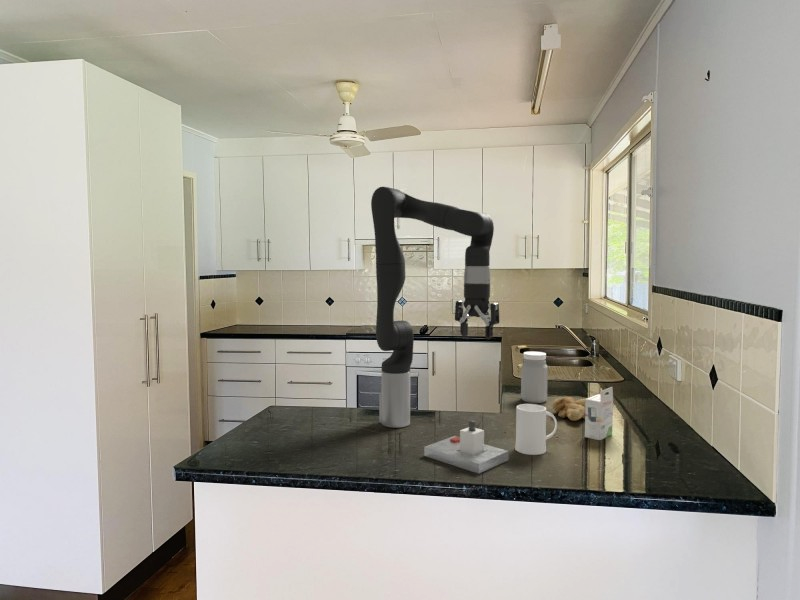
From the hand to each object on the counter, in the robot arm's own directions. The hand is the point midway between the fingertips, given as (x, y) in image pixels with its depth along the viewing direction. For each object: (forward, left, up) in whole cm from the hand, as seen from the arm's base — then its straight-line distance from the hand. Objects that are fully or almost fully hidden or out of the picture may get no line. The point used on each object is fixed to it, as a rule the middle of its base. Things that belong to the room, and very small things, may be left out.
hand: (476, 337), depth 161 cm
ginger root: (+9, +42, -30) cm, 53 cm away
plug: (+10, -15, -30) cm, 35 cm away
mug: (+18, +4, -30) cm, 35 cm away
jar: (-11, +52, -30) cm, 61 cm away
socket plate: (+8, -15, -30) cm, 35 cm away
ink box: (+25, +28, -30) cm, 48 cm away
